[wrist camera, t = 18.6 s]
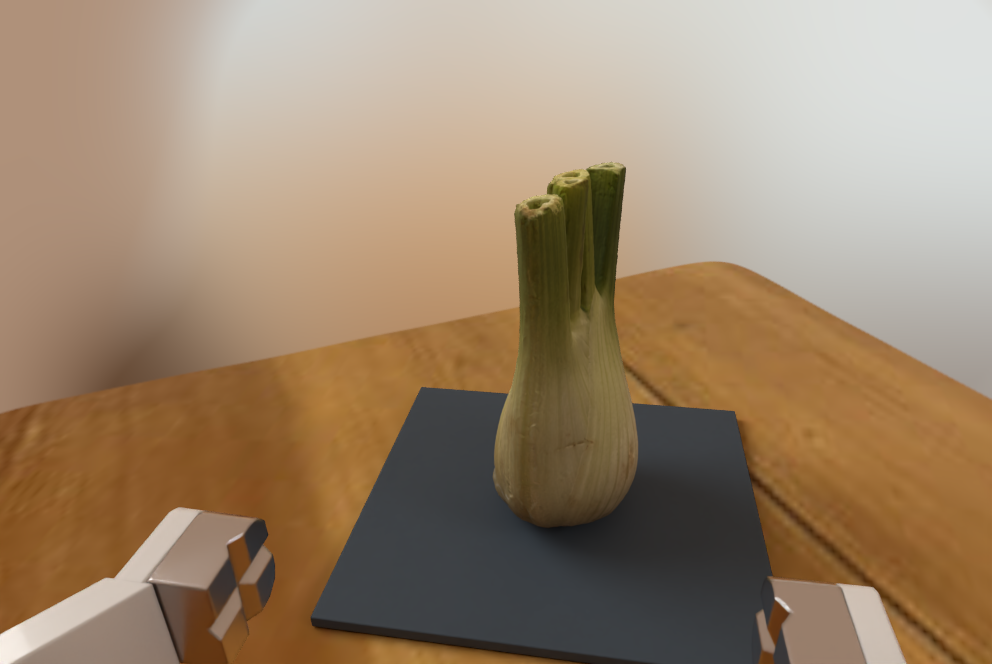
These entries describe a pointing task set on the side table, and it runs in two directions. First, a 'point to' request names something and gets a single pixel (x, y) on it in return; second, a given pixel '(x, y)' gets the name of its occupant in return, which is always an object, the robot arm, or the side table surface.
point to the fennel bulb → (568, 359)
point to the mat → (557, 547)
